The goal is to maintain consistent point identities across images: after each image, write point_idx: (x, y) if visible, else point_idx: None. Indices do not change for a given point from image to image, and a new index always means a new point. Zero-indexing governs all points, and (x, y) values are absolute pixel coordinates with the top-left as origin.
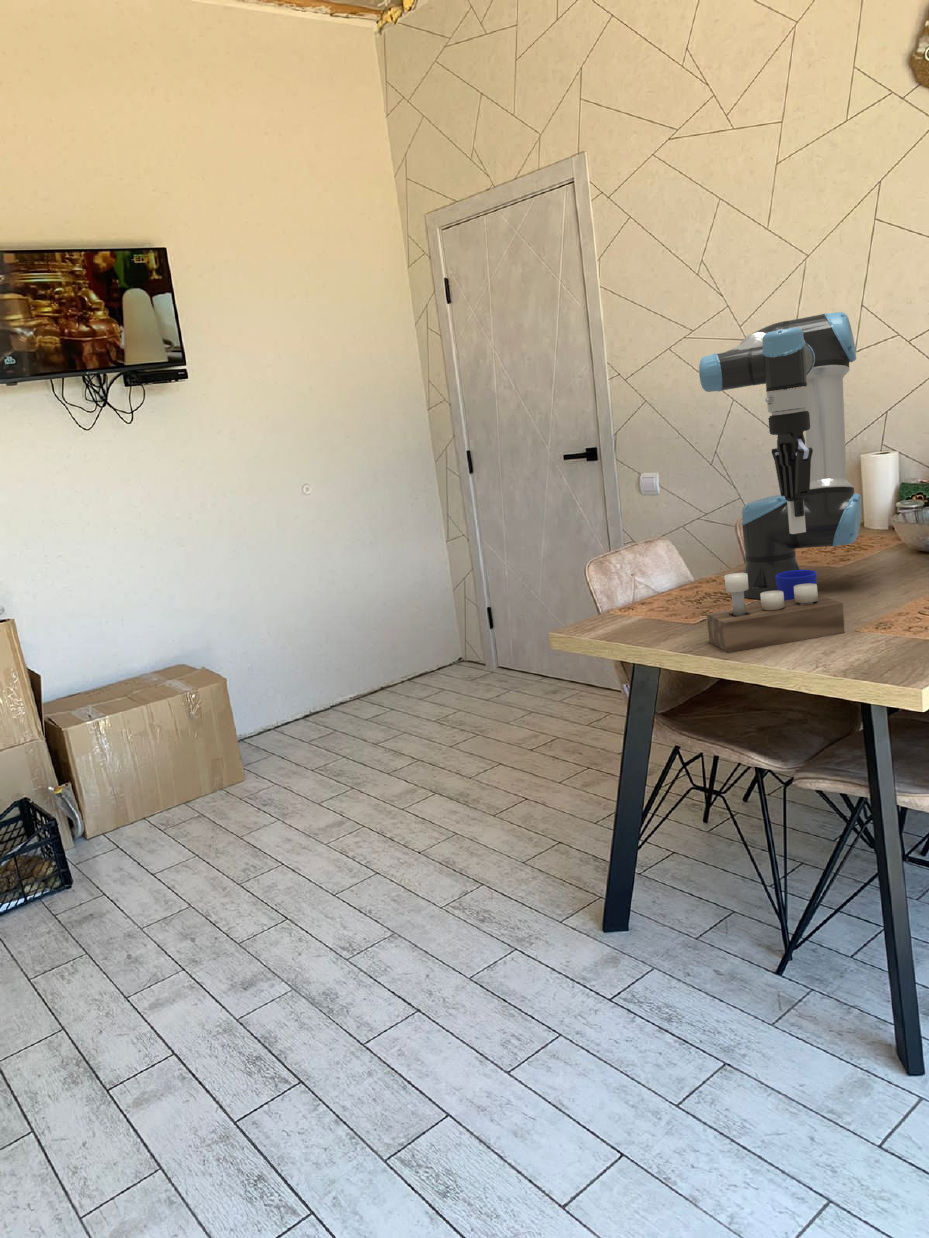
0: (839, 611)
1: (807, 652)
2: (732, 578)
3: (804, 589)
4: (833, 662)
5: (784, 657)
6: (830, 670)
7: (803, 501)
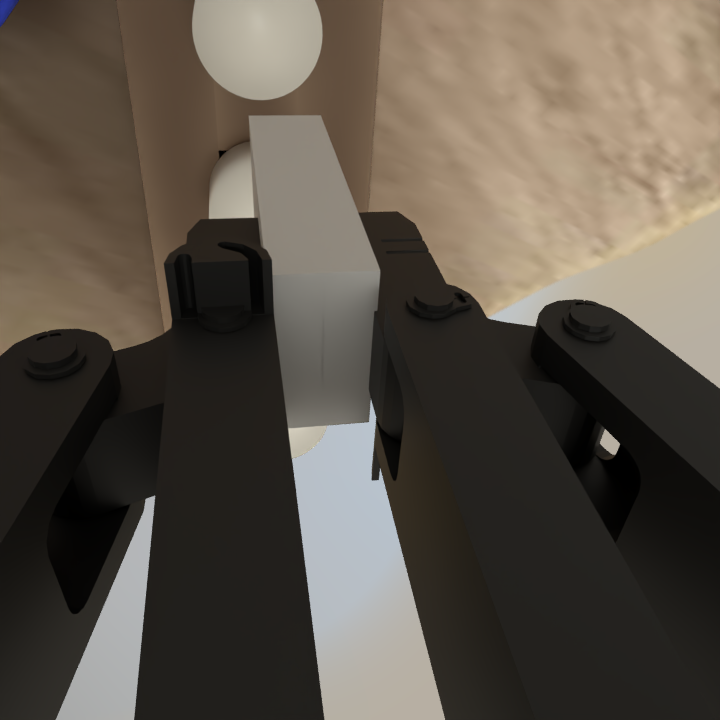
0: None
1: (506, 138)
2: (315, 442)
3: (312, 66)
4: (652, 125)
5: (500, 218)
6: (700, 169)
7: (371, 257)
